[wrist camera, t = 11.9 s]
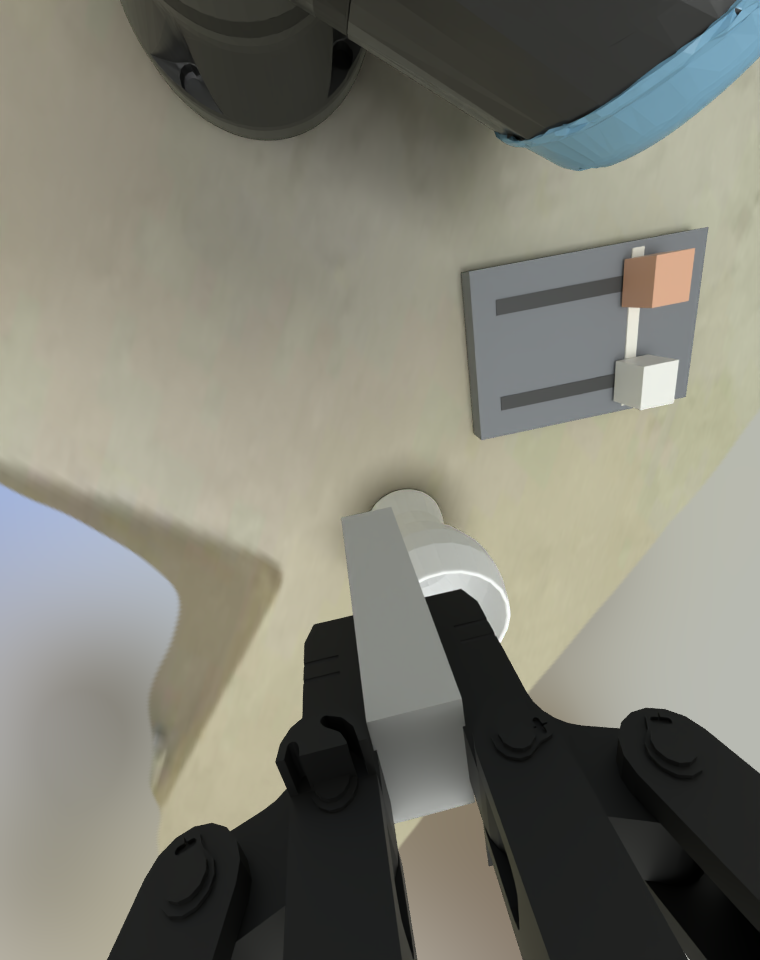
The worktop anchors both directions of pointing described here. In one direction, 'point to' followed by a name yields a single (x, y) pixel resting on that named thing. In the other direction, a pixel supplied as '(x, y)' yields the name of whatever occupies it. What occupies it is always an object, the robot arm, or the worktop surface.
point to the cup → (448, 556)
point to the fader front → (657, 279)
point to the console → (567, 333)
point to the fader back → (645, 381)
